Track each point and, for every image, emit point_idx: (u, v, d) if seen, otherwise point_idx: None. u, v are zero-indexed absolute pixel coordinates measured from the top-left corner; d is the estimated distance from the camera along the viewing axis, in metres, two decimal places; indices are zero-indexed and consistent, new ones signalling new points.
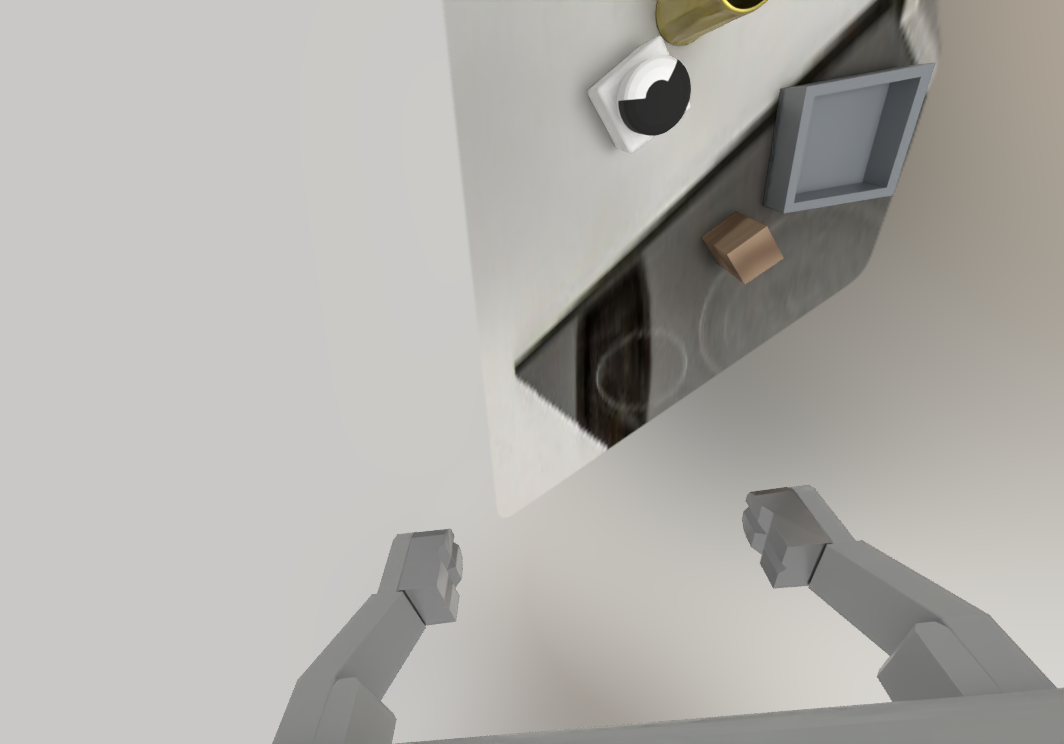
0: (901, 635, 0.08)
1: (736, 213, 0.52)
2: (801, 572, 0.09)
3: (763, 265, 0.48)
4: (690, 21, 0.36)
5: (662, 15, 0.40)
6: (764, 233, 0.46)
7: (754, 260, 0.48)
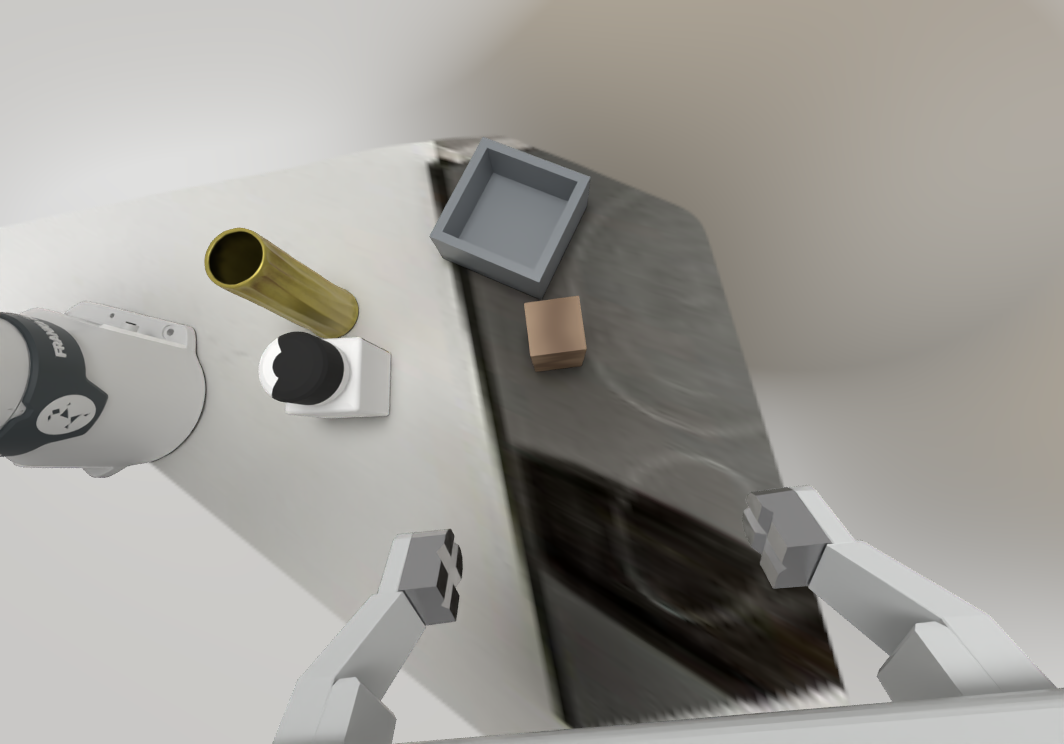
0: (901, 634, 0.08)
1: None
2: (801, 572, 0.09)
3: (573, 320, 0.35)
4: (297, 314, 0.38)
5: (317, 332, 0.44)
6: (531, 307, 0.36)
7: (560, 328, 0.35)
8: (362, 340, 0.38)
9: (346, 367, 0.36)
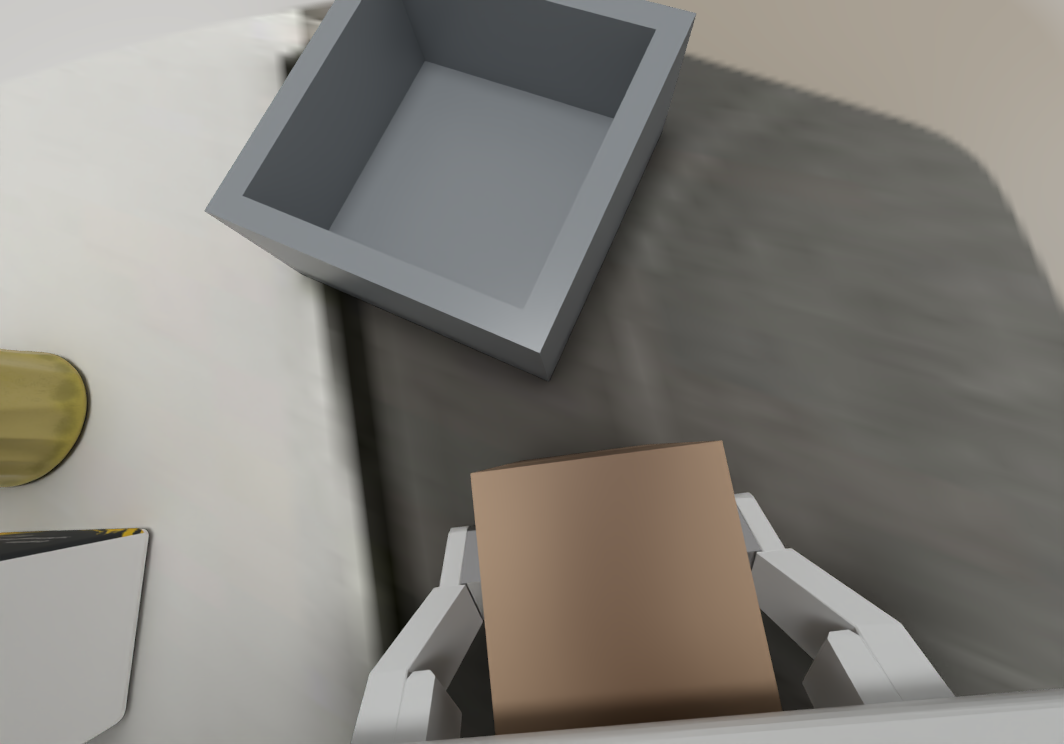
0: (824, 642, 0.08)
1: None
2: None
3: (707, 567, 0.07)
4: None
5: None
6: (503, 497, 0.08)
7: (641, 610, 0.07)
8: None
9: None
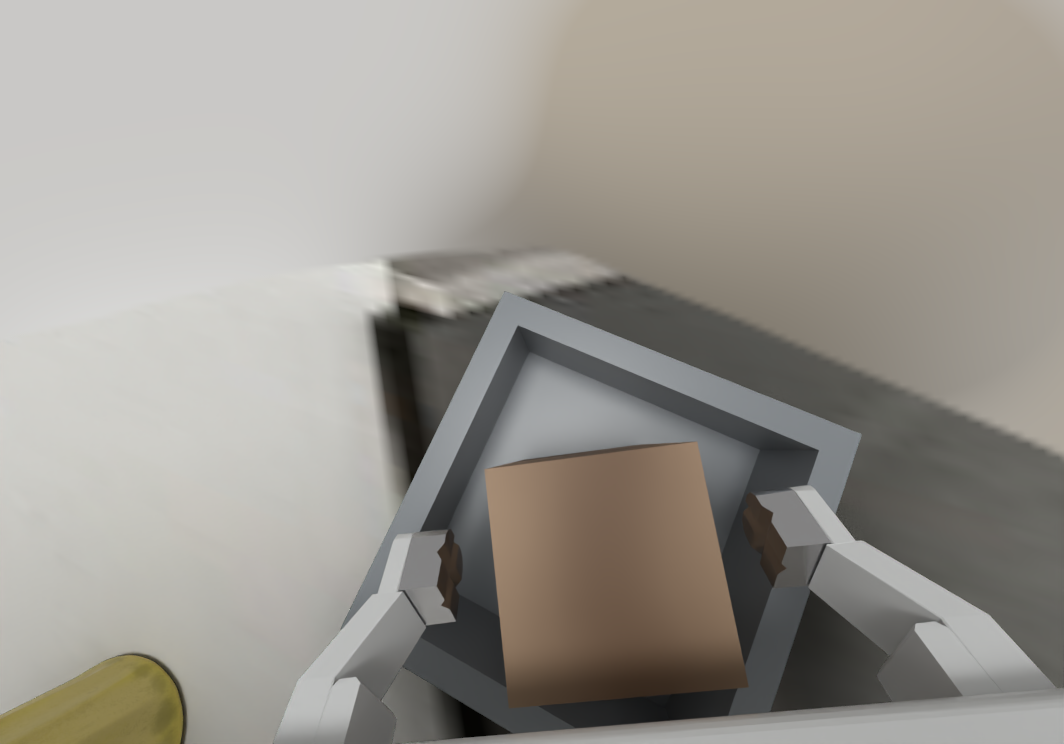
0: (901, 635, 0.08)
1: None
2: (801, 572, 0.09)
3: (683, 547, 0.09)
4: None
5: None
6: (512, 489, 0.09)
7: (629, 584, 0.09)
8: None
9: None
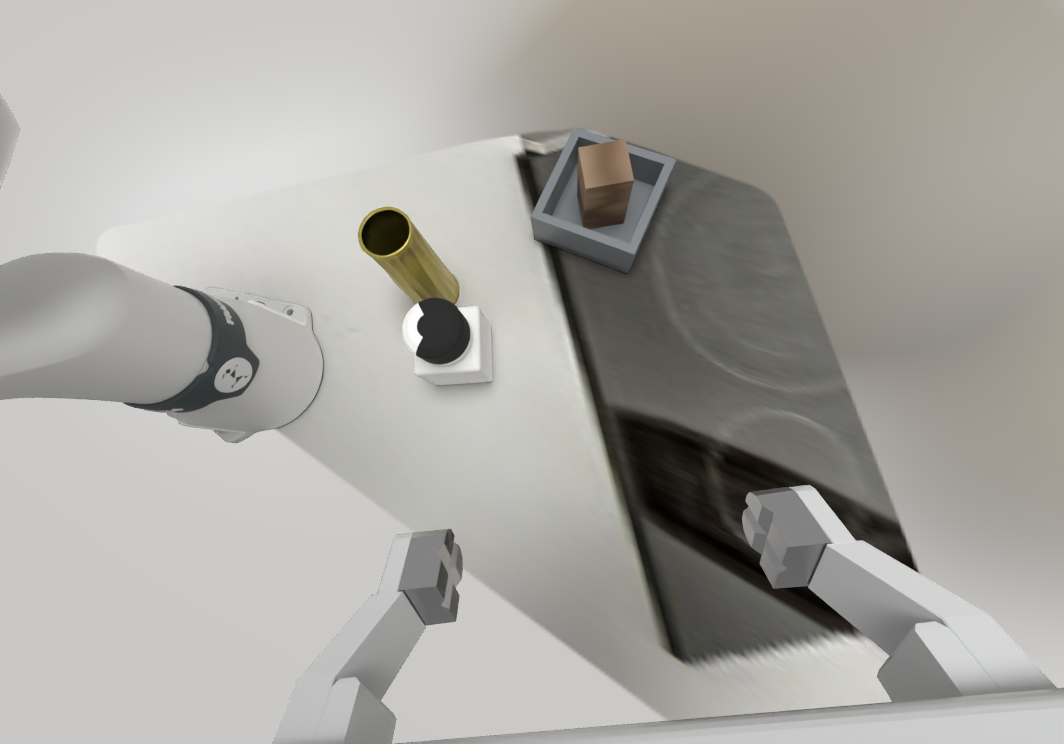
0: (901, 635, 0.08)
1: (577, 192, 0.49)
2: (801, 572, 0.09)
3: (621, 158, 0.41)
4: (420, 287, 0.43)
5: None
6: (584, 151, 0.42)
7: (610, 165, 0.41)
8: (479, 309, 0.42)
9: (471, 331, 0.40)
